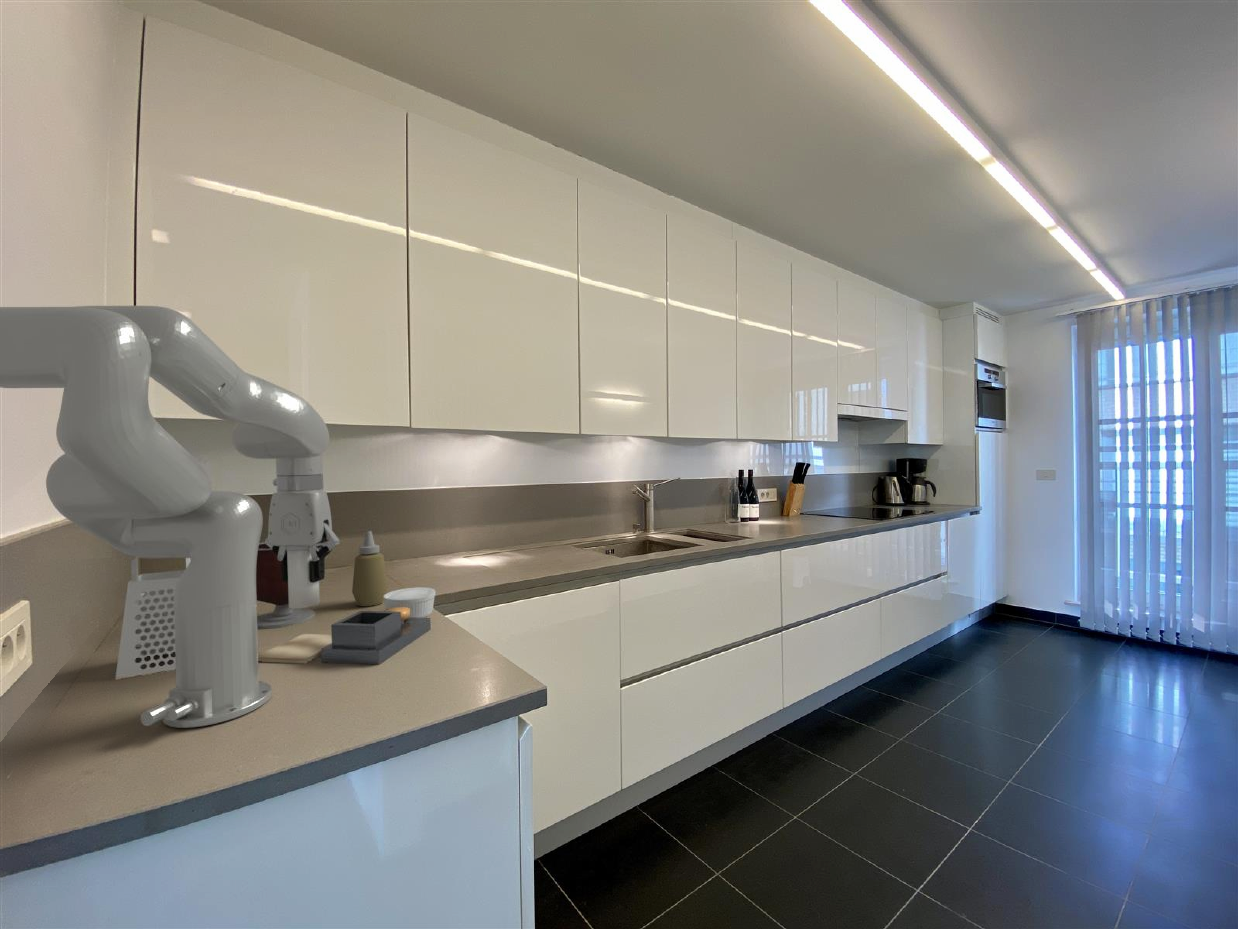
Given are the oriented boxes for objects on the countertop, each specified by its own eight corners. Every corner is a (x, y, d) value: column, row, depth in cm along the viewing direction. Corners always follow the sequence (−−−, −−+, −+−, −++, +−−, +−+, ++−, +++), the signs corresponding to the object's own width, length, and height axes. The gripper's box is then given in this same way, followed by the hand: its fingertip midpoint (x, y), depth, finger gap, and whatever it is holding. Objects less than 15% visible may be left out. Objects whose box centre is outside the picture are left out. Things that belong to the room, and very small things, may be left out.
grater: (195, 666, 91) (192, 553, 91) (115, 680, 86) (111, 560, 85) (207, 647, 100) (204, 544, 100) (135, 659, 95) (131, 550, 95)
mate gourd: (247, 617, 119) (245, 530, 119) (317, 607, 127) (315, 525, 126) (242, 636, 106) (239, 539, 106) (320, 624, 114) (318, 533, 113)
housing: (379, 664, 91) (378, 628, 91) (321, 662, 92) (320, 626, 92) (430, 629, 109) (429, 599, 109) (381, 627, 110) (381, 597, 110)
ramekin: (385, 611, 122) (385, 589, 122) (436, 606, 126) (435, 585, 126) (381, 626, 112) (380, 602, 112) (435, 620, 115) (435, 596, 115)
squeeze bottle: (348, 609, 124) (346, 534, 123) (356, 600, 132) (354, 530, 131) (385, 606, 126) (383, 533, 126) (390, 598, 134) (389, 528, 133)
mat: (305, 663, 92) (305, 659, 92) (254, 661, 93) (254, 656, 93) (349, 639, 104) (349, 635, 104) (303, 637, 105) (303, 633, 105)
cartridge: (307, 609, 95) (305, 544, 95) (280, 608, 96) (278, 544, 96) (327, 600, 101) (325, 539, 100) (301, 600, 101) (300, 539, 101)
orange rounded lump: (402, 635, 104) (401, 614, 104) (379, 634, 104) (379, 613, 104) (414, 627, 109) (414, 607, 108) (393, 626, 109) (392, 606, 109)
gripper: (243, 486, 95) (246, 584, 96) (328, 486, 93) (331, 586, 93) (275, 483, 102) (278, 575, 103) (354, 483, 100) (357, 576, 101)
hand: (303, 579), depth 98 cm, fingers closed on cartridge, 5 cm apart
